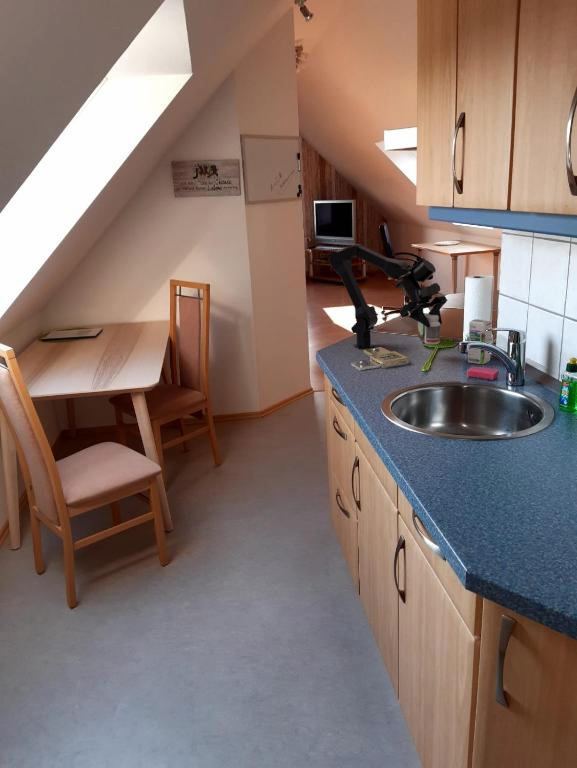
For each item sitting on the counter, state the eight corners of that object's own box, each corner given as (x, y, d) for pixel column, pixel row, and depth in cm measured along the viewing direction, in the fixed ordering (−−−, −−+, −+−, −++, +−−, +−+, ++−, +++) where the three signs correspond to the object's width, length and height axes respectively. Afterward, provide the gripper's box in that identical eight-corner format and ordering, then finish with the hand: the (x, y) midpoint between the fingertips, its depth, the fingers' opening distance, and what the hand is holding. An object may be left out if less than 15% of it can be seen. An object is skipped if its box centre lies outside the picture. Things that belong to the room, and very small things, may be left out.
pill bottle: (442, 343, 216) (443, 316, 213) (430, 345, 214) (431, 318, 211) (433, 340, 221) (434, 313, 218) (421, 342, 219) (421, 315, 216)
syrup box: (467, 362, 211) (468, 321, 206) (475, 358, 215) (476, 318, 210) (482, 365, 207) (484, 323, 202) (490, 360, 211) (492, 319, 206)
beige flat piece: (340, 359, 225) (339, 351, 224) (383, 352, 230) (383, 344, 229) (361, 371, 208) (361, 363, 207) (408, 363, 214) (408, 356, 213)
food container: (439, 343, 237) (439, 318, 234) (423, 344, 237) (423, 319, 234) (432, 336, 249) (432, 312, 245) (417, 337, 249) (417, 312, 246)
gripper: (405, 279, 209) (427, 316, 203) (444, 273, 218) (466, 307, 212) (390, 299, 218) (411, 334, 212) (428, 292, 227) (449, 326, 221)
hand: (435, 325), depth 214 cm, fingers closed on pill bottle, 5 cm apart
